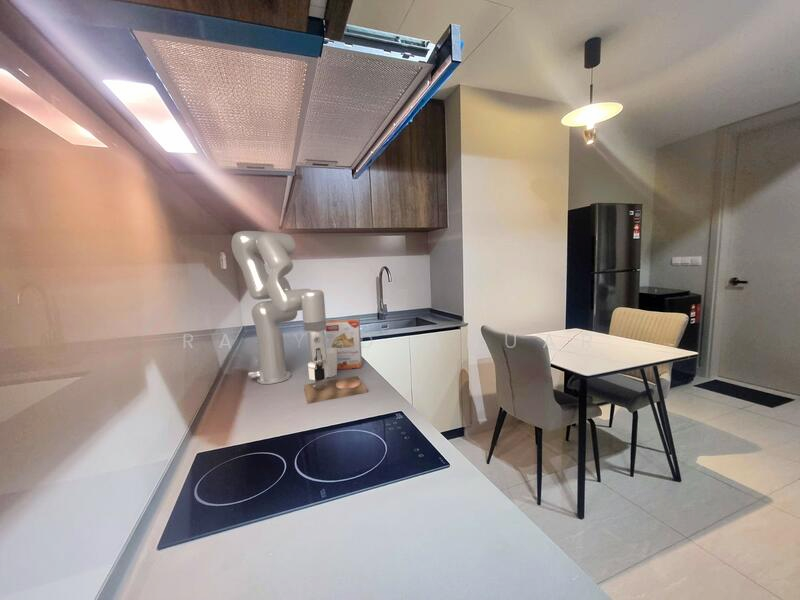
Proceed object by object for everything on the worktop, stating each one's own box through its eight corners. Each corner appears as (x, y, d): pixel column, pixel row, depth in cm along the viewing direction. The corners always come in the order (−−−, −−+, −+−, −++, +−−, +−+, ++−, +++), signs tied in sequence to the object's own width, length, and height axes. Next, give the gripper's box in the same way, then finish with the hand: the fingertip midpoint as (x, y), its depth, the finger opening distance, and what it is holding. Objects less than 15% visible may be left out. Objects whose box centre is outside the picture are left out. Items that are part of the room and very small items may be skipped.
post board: (307, 403, 104) (305, 378, 103) (304, 388, 117) (302, 366, 116) (366, 392, 111) (365, 368, 110) (357, 379, 124) (356, 358, 123)
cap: (329, 378, 110) (328, 363, 109) (309, 381, 107) (308, 367, 107) (326, 372, 116) (325, 358, 115) (308, 375, 113) (306, 361, 113)
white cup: (332, 379, 126) (330, 354, 125) (315, 377, 128) (313, 353, 127) (342, 372, 133) (340, 348, 132) (325, 371, 136) (324, 348, 135)
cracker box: (328, 370, 136) (324, 322, 134) (330, 366, 142) (327, 319, 140) (361, 368, 136) (358, 320, 134) (362, 364, 142) (359, 318, 140)
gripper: (329, 329, 103) (333, 383, 105) (322, 321, 119) (326, 367, 121) (305, 332, 100) (309, 387, 102) (301, 323, 116) (305, 370, 118)
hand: (318, 375), depth 112 cm, fingers closed on cap, 6 cm apart
